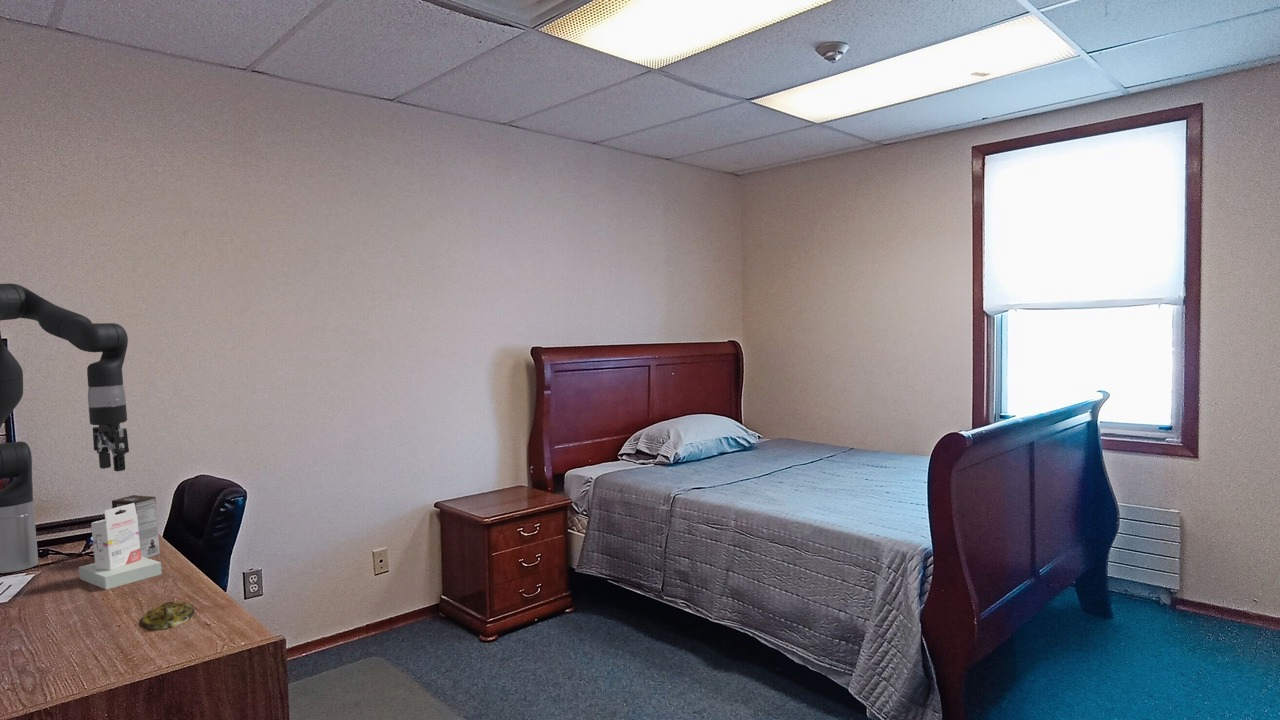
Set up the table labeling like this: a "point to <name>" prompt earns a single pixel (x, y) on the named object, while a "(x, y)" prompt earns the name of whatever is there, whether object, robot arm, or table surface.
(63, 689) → the table surface
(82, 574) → the plinth
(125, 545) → the ink cartridge box
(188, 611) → the olive green oval lump
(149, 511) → the coffee box
